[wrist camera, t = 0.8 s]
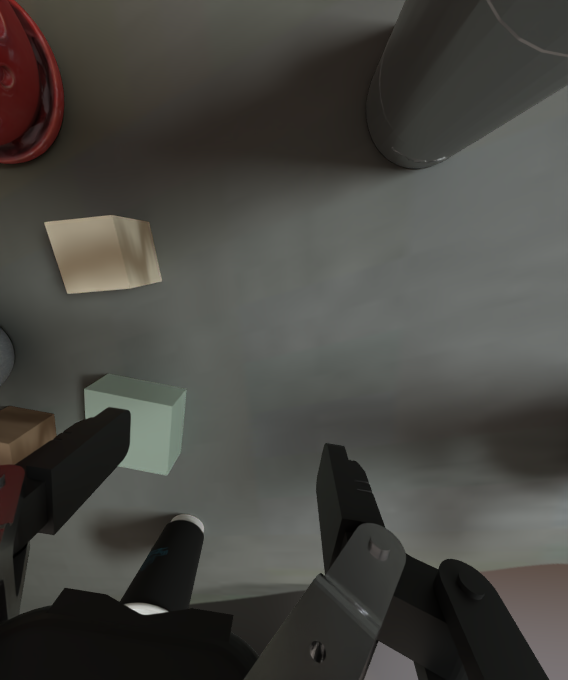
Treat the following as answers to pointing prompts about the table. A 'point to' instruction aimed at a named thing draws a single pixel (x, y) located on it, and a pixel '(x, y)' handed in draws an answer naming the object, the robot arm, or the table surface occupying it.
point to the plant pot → (26, 88)
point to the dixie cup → (168, 569)
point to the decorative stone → (5, 356)
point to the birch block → (104, 253)
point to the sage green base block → (143, 418)
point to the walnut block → (23, 433)
